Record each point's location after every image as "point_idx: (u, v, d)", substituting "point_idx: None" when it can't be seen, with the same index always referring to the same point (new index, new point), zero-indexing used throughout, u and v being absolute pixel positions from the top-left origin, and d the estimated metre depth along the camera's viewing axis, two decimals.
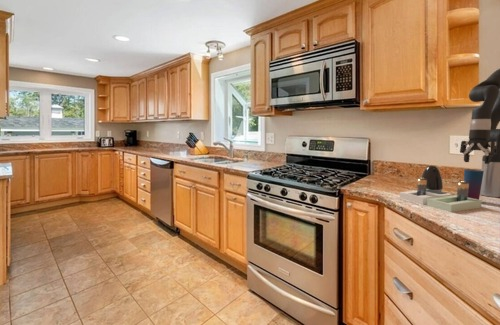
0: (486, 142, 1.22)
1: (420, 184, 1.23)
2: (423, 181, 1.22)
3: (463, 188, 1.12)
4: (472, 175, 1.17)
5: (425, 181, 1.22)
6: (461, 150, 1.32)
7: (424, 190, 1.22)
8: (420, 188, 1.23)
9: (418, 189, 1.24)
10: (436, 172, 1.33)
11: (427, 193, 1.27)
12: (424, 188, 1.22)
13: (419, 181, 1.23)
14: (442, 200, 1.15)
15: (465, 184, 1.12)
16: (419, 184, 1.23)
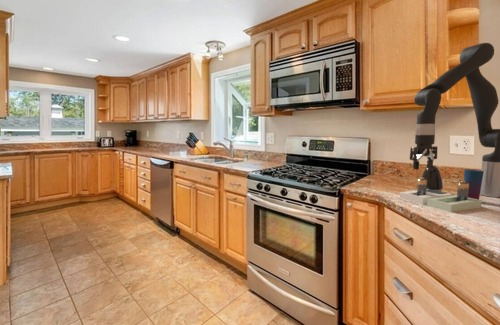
0: (432, 147, 1.22)
1: (420, 184, 1.23)
2: (423, 181, 1.22)
3: (463, 188, 1.12)
4: (472, 175, 1.17)
5: (425, 181, 1.22)
6: (415, 157, 1.19)
7: (424, 190, 1.22)
8: (420, 188, 1.23)
9: (418, 189, 1.24)
10: (436, 172, 1.33)
11: (427, 193, 1.27)
12: (424, 188, 1.22)
13: (419, 181, 1.23)
14: (442, 200, 1.15)
15: (465, 184, 1.12)
16: (419, 184, 1.23)
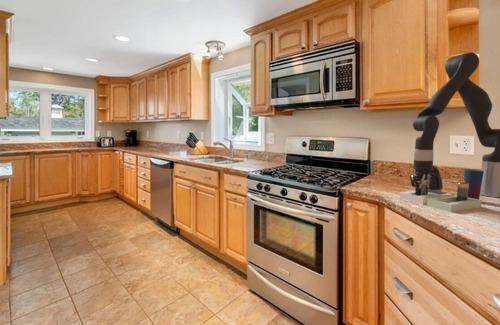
0: (430, 173, 1.24)
1: None
2: None
3: (463, 188, 1.12)
4: (472, 175, 1.17)
5: (425, 181, 1.22)
6: (417, 184, 1.21)
7: (424, 190, 1.22)
8: None
9: None
10: (436, 172, 1.33)
11: None
12: (424, 188, 1.22)
13: (419, 181, 1.23)
14: (442, 200, 1.15)
15: (465, 184, 1.12)
16: None
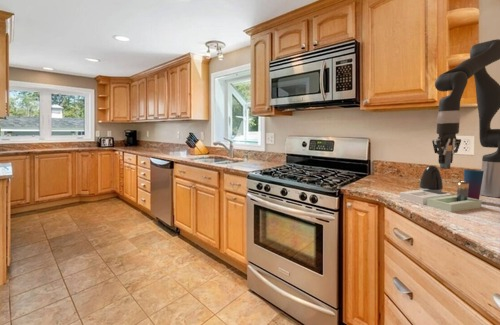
0: None
1: None
2: (448, 147, 1.09)
3: (463, 188, 1.12)
4: (472, 175, 1.17)
5: (450, 147, 1.09)
6: (441, 150, 1.09)
7: (449, 157, 1.10)
8: None
9: None
10: (436, 172, 1.33)
11: (427, 193, 1.27)
12: (449, 154, 1.09)
13: None
14: (442, 200, 1.15)
15: (465, 184, 1.12)
16: None
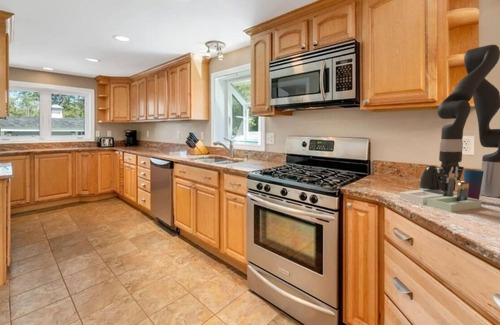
0: (458, 165, 1.10)
1: None
2: (451, 175, 1.09)
3: (463, 188, 1.12)
4: (472, 175, 1.17)
5: (453, 175, 1.09)
6: (444, 178, 1.08)
7: (452, 185, 1.09)
8: None
9: None
10: None
11: (427, 193, 1.27)
12: (452, 183, 1.09)
13: None
14: (442, 200, 1.15)
15: (465, 184, 1.12)
16: None
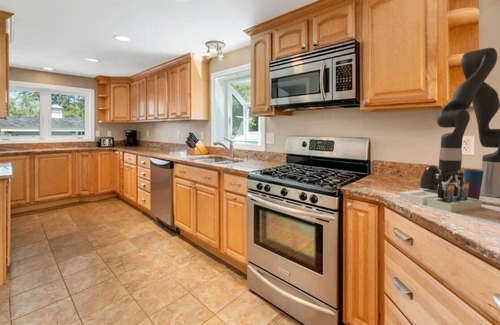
0: (458, 173, 1.11)
1: (447, 190, 1.10)
2: (450, 187, 1.09)
3: (463, 188, 1.12)
4: (472, 175, 1.17)
5: (453, 187, 1.09)
6: (441, 185, 1.08)
7: (451, 197, 1.10)
8: (447, 194, 1.10)
9: (444, 195, 1.11)
10: (436, 172, 1.33)
11: (427, 193, 1.27)
12: (451, 194, 1.10)
13: (446, 186, 1.10)
14: None
15: (465, 184, 1.12)
16: (445, 190, 1.10)
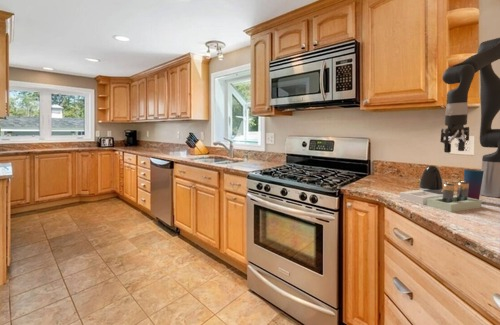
0: (463, 128, 1.14)
1: (447, 190, 1.10)
2: (450, 186, 1.09)
3: (463, 188, 1.12)
4: (472, 175, 1.17)
5: (452, 187, 1.09)
6: (447, 139, 1.11)
7: (451, 197, 1.10)
8: (447, 194, 1.10)
9: (444, 195, 1.11)
10: (436, 172, 1.33)
11: (427, 193, 1.27)
12: (451, 194, 1.10)
13: (445, 186, 1.10)
14: None
15: (465, 184, 1.12)
16: (445, 190, 1.10)
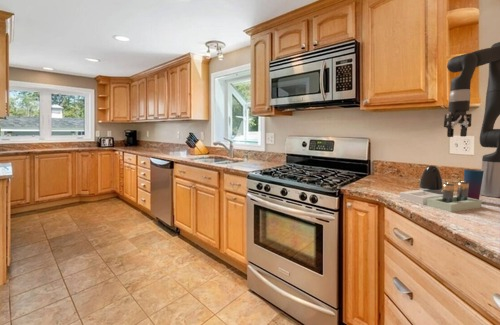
0: (466, 114, 1.20)
1: (446, 190, 1.10)
2: (450, 187, 1.09)
3: (463, 188, 1.12)
4: (472, 175, 1.17)
5: (452, 187, 1.09)
6: (450, 124, 1.17)
7: (451, 197, 1.10)
8: (447, 195, 1.10)
9: (444, 195, 1.11)
10: (436, 172, 1.33)
11: (427, 193, 1.27)
12: (451, 194, 1.10)
13: (445, 187, 1.10)
14: None
15: (465, 184, 1.12)
16: (445, 190, 1.10)
